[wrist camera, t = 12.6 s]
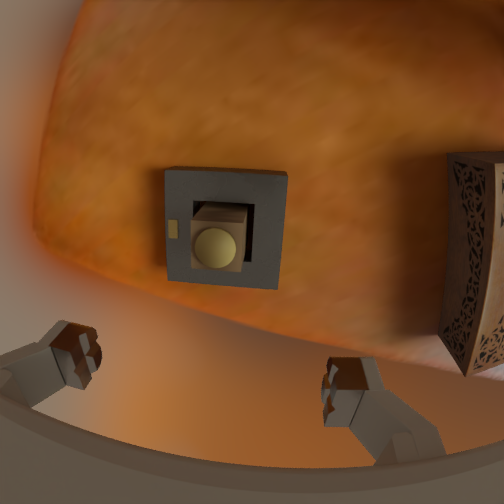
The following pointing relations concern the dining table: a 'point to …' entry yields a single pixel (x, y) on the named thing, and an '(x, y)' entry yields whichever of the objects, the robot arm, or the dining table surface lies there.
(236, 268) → the brown block with knob
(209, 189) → the grey square socket base
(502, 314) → the tissue box cover
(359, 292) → the dining table surface
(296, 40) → the dining table surface
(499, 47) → the dining table surface
